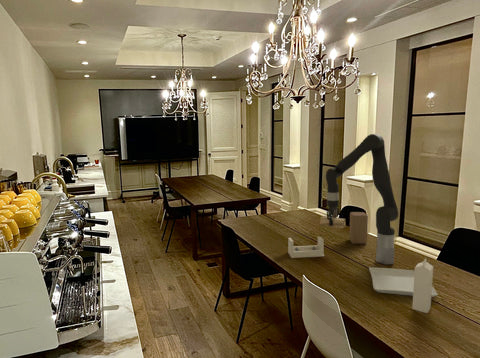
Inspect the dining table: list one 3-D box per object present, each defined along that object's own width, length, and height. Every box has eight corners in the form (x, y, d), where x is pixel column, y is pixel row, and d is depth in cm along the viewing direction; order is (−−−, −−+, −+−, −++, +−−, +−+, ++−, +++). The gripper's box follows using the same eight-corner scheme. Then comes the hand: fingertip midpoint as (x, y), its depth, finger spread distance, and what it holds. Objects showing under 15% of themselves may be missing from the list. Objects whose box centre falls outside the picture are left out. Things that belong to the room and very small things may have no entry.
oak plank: (342, 228, 215) (342, 220, 215) (320, 224, 225) (320, 217, 224) (345, 226, 219) (345, 218, 218) (323, 223, 228) (323, 215, 228)
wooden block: (363, 239, 241) (364, 211, 238) (367, 244, 231) (368, 215, 228) (348, 239, 242) (349, 211, 239) (352, 244, 232) (352, 215, 229)
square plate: (423, 277, 180) (423, 270, 179) (438, 302, 154) (438, 294, 153) (368, 272, 187) (368, 265, 187) (373, 295, 161) (373, 288, 161)
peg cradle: (324, 256, 211) (324, 240, 209) (291, 257, 209) (291, 242, 207) (319, 250, 221) (319, 235, 219) (287, 252, 219) (287, 237, 217)
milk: (430, 308, 149) (434, 259, 146) (427, 313, 144) (431, 263, 141) (415, 303, 153) (418, 256, 150) (411, 309, 148) (415, 260, 145)
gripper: (333, 201, 212) (333, 228, 214) (343, 197, 223) (342, 223, 225) (322, 200, 217) (322, 226, 219) (332, 196, 227) (331, 221, 230)
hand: (332, 224), depth 222 cm, fingers closed on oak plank, 4 cm apart
